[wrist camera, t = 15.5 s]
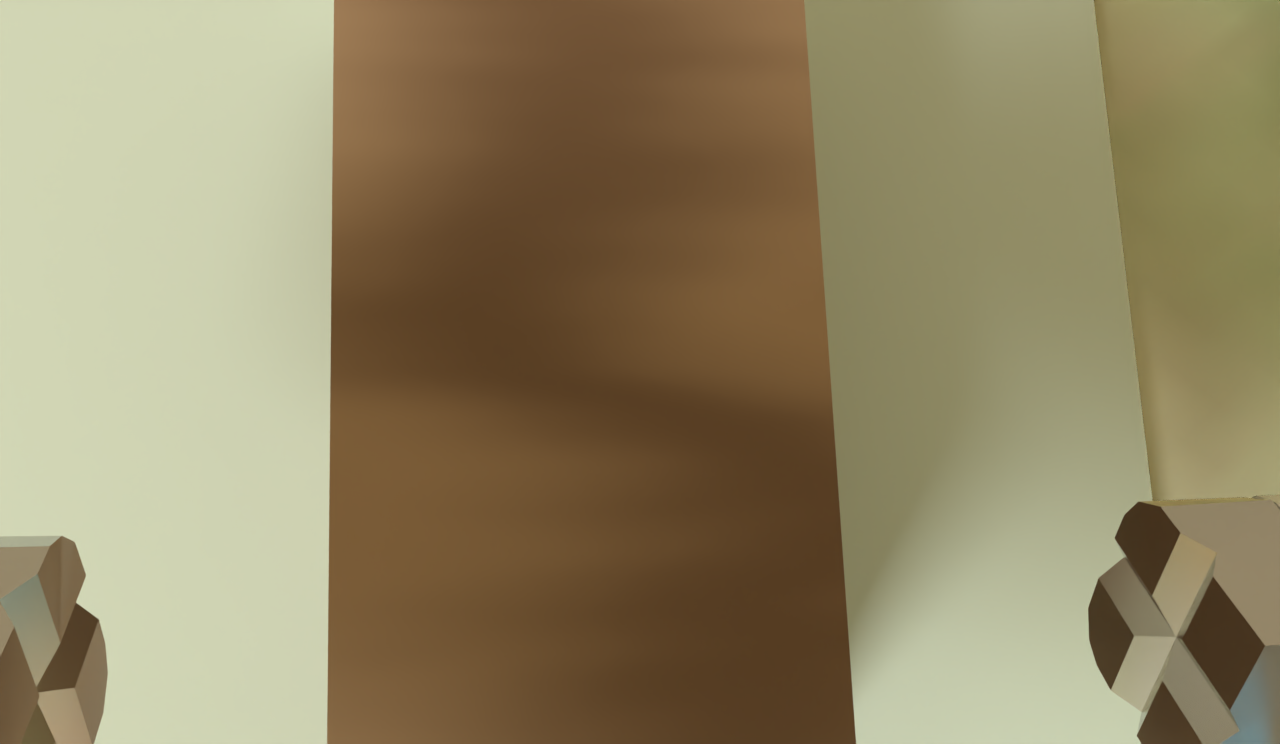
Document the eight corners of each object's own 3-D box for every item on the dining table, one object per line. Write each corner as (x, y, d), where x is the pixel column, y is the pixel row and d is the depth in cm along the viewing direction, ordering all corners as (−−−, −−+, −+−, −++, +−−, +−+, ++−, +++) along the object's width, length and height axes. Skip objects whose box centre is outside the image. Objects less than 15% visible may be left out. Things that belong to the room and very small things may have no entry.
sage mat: (1059, -63, 20) (1083, -89, 19) (1171, 922, 17) (1204, 938, 16) (-53, -108, 17) (-78, -140, 17) (-140, 1034, 14) (-176, 1059, 14)
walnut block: (749, 819, 16) (706, 9, 18) (868, 927, 11) (789, -207, 13) (377, 846, 15) (378, 0, 17) (324, 972, 10) (335, -233, 12)
